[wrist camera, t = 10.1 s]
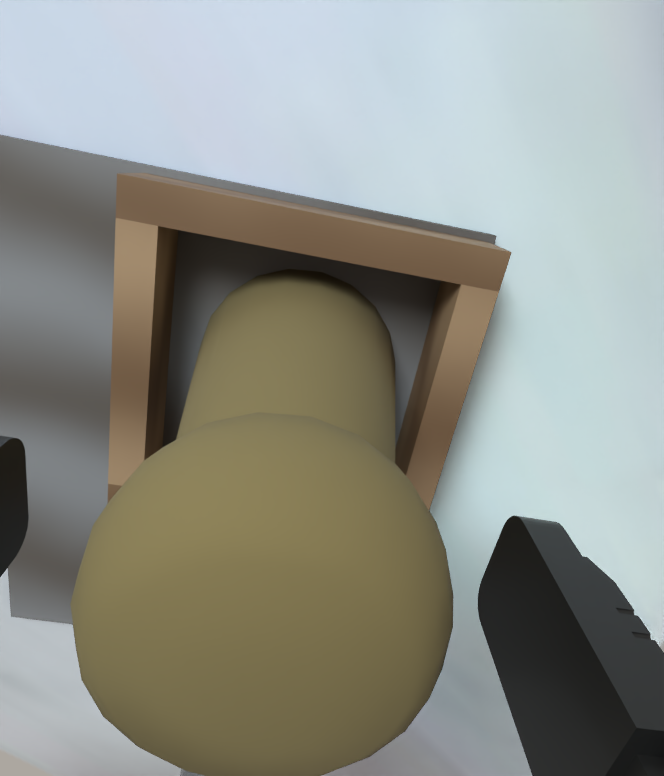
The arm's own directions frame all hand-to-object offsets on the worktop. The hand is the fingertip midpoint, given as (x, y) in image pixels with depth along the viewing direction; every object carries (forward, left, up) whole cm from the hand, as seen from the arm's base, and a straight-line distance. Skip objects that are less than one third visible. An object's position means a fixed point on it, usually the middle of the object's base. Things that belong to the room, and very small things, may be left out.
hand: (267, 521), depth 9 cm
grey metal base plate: (+4, -2, -8) cm, 9 cm away
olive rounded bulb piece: (0, 0, -8) cm, 8 cm away
